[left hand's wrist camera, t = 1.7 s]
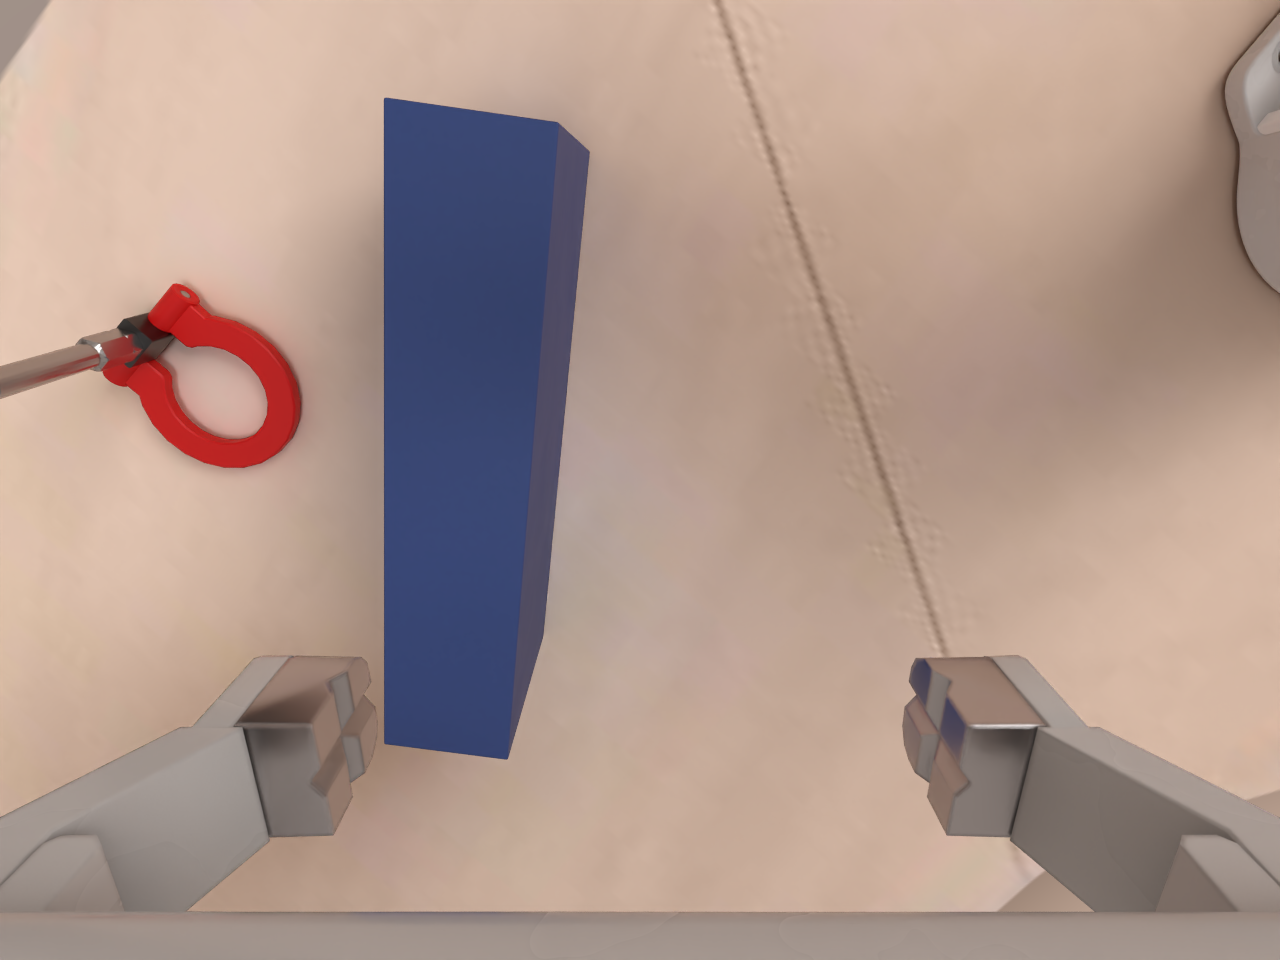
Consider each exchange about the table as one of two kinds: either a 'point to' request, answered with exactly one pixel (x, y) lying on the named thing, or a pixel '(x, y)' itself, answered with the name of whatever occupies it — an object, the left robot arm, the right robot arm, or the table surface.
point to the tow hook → (134, 365)
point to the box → (472, 411)
